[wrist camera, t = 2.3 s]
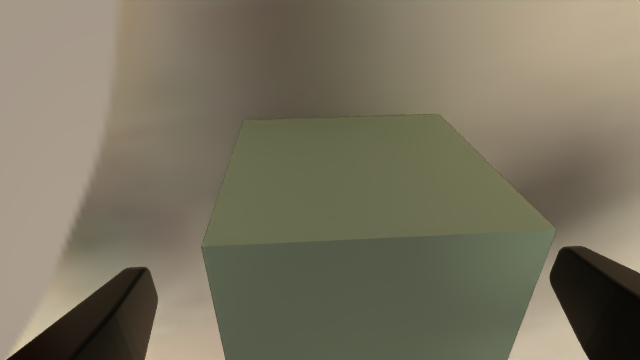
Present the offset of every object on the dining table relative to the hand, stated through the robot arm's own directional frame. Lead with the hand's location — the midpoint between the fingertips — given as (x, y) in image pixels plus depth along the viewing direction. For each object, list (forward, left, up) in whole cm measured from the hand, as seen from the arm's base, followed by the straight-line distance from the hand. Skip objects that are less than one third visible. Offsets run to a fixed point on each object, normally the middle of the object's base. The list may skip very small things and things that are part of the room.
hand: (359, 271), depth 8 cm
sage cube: (0, 0, -3) cm, 3 cm away
